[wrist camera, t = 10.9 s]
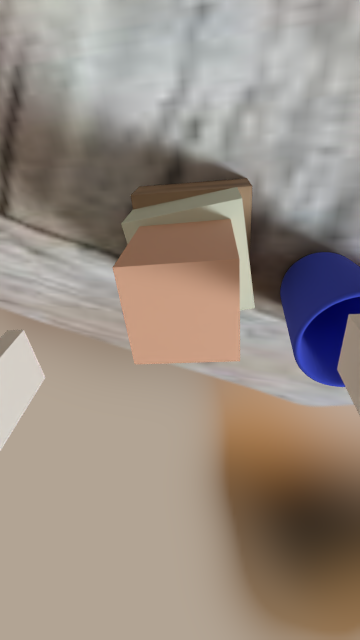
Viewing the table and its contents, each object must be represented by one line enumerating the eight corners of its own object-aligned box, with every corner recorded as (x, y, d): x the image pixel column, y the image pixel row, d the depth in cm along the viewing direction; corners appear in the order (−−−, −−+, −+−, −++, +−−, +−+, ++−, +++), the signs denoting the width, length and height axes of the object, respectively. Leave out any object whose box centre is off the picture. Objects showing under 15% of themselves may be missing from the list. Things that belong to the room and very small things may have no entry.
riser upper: (132, 209, 25) (121, 223, 21) (237, 186, 23) (242, 198, 20) (158, 299, 29) (152, 323, 25) (248, 284, 27) (254, 308, 24)
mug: (389, 318, 32) (454, 389, 23) (266, 318, 33) (287, 387, 25) (418, 238, 28) (510, 290, 19) (275, 241, 29) (303, 292, 20)
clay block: (139, 226, 21) (112, 267, 15) (230, 218, 20) (239, 258, 15) (152, 305, 24) (134, 364, 18) (232, 300, 24) (240, 360, 18)
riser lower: (140, 185, 27) (130, 195, 24) (246, 177, 26) (252, 186, 23) (153, 281, 32) (147, 300, 29) (244, 277, 31) (248, 296, 28)
